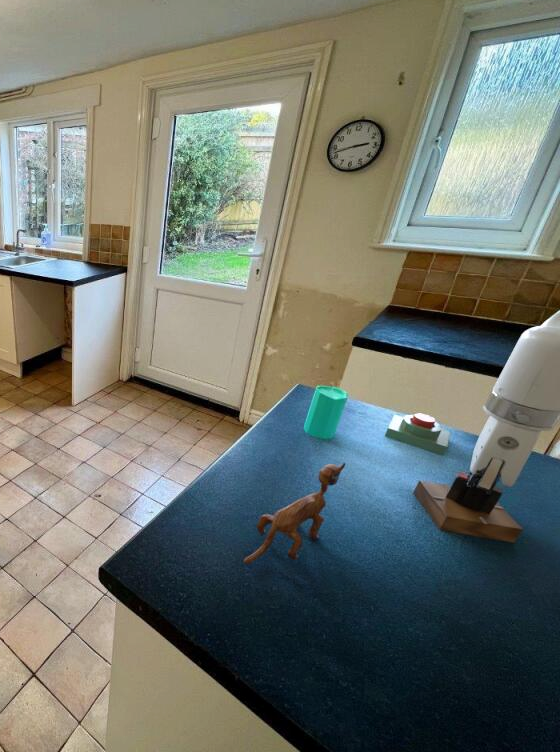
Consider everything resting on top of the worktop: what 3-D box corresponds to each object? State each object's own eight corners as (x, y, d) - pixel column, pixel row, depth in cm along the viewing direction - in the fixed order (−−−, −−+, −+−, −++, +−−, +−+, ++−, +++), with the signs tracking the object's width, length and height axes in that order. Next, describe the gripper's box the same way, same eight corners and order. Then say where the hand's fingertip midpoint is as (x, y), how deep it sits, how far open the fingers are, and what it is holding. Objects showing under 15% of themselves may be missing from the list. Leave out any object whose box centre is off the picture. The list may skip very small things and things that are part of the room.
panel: (477, 502, 74) (485, 488, 73) (515, 544, 66) (525, 530, 65) (411, 491, 77) (418, 478, 75) (440, 531, 68) (448, 517, 67)
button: (433, 424, 90) (436, 417, 90) (431, 431, 88) (434, 424, 87) (412, 418, 93) (415, 411, 92) (410, 424, 90) (413, 417, 90)
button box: (446, 439, 91) (454, 424, 90) (443, 455, 86) (451, 439, 85) (390, 422, 98) (396, 407, 96) (384, 436, 93) (390, 421, 91)
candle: (299, 431, 95) (313, 384, 89) (308, 421, 98) (322, 376, 93) (329, 442, 91) (345, 394, 85) (337, 431, 94) (354, 385, 89)
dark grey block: (490, 508, 69) (503, 486, 67) (489, 514, 68) (503, 492, 66) (446, 491, 72) (458, 470, 70) (445, 497, 71) (457, 475, 69)
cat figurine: (261, 585, 60) (285, 515, 54) (224, 552, 65) (242, 484, 59) (334, 538, 67) (362, 471, 61) (296, 511, 72) (318, 447, 67)
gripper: (561, 441, 55) (496, 541, 63) (556, 399, 64) (501, 490, 72) (483, 419, 59) (432, 514, 67) (490, 383, 69) (444, 470, 77)
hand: (468, 501), depth 70 cm, fingers closed on dark grey block, 2 cm apart
